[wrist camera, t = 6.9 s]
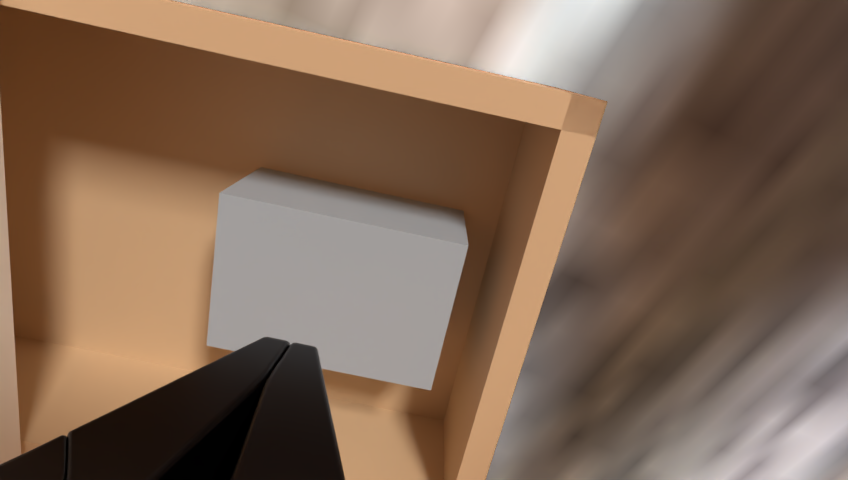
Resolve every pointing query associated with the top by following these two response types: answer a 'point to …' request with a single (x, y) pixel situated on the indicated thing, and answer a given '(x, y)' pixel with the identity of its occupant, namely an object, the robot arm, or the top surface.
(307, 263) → the soap bar
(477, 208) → the mailer box
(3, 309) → the lid
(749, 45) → the top surface
